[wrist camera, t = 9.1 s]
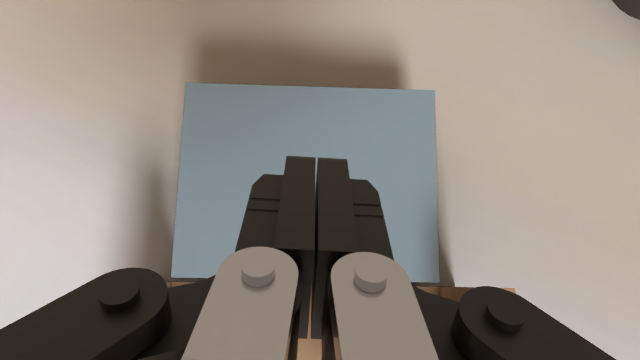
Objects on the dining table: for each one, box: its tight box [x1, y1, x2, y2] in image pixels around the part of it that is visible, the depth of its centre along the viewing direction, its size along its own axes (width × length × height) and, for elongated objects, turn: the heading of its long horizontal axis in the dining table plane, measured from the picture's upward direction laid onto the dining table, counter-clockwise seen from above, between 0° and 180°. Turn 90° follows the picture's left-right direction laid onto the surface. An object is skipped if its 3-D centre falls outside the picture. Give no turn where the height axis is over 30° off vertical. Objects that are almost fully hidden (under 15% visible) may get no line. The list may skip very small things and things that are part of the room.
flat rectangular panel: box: [171, 83, 440, 283], centre depth 23 cm, size 2×13×10 cm
